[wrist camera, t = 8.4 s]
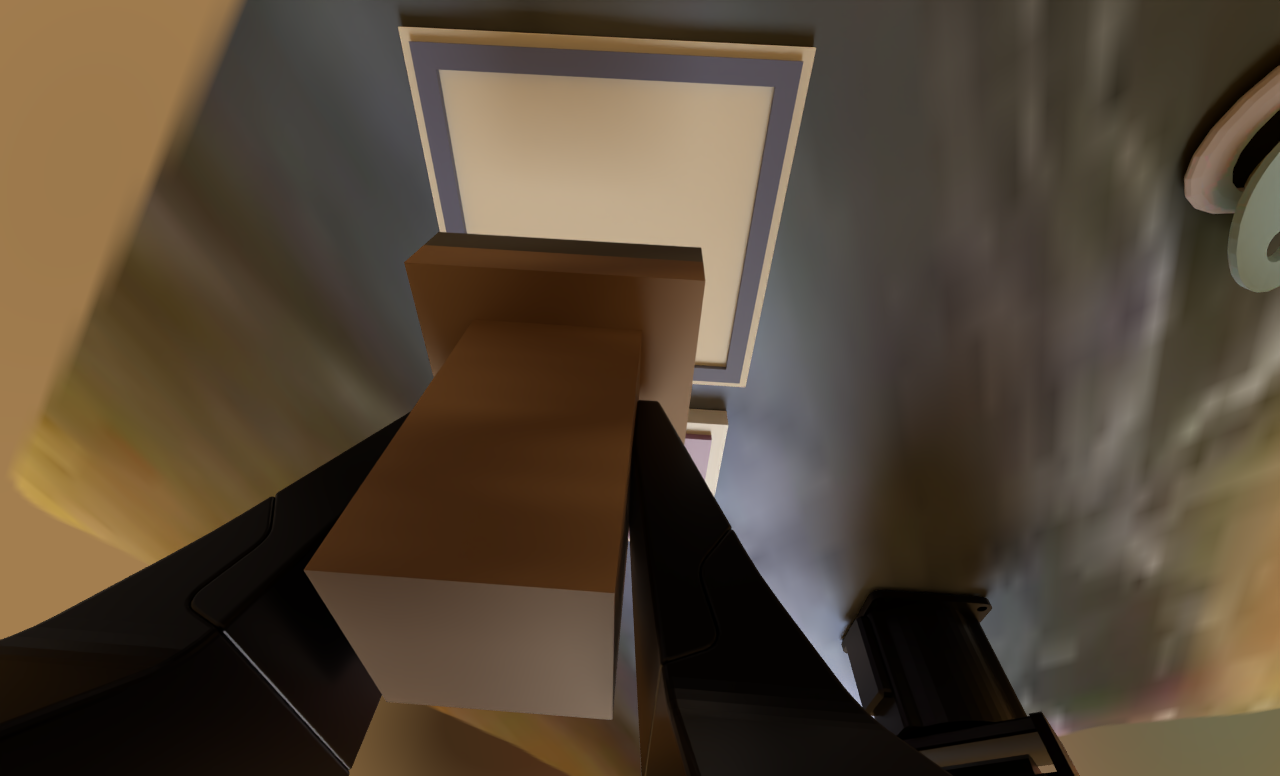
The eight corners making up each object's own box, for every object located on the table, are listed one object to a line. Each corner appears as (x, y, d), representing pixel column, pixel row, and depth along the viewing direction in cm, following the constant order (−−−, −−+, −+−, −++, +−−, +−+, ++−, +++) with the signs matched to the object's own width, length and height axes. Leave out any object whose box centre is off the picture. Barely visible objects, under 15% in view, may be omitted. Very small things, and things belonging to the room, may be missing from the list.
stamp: (701, 247, 9) (736, 534, 4) (678, 443, 12) (681, 753, 7) (438, 231, 9) (144, 493, 4) (479, 429, 12) (337, 725, 7)
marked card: (813, 47, 13) (818, 48, 13) (744, 382, 20) (745, 390, 19) (403, 26, 13) (394, 26, 13) (470, 365, 20) (466, 372, 19)
